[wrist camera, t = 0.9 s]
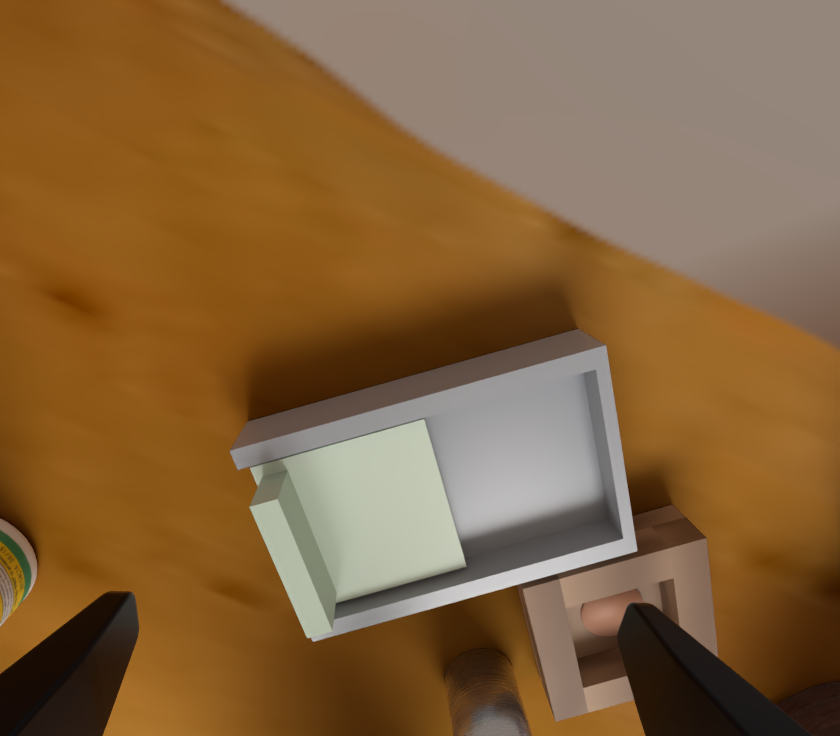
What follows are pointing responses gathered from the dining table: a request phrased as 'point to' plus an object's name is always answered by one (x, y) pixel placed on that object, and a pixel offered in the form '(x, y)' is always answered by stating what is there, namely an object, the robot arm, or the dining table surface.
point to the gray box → (489, 465)
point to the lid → (355, 519)
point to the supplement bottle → (14, 569)
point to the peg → (484, 696)
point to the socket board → (616, 611)
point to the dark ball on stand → (816, 709)
